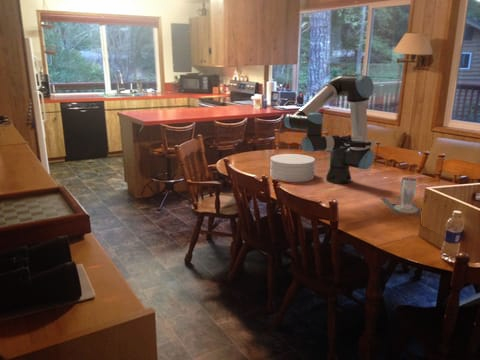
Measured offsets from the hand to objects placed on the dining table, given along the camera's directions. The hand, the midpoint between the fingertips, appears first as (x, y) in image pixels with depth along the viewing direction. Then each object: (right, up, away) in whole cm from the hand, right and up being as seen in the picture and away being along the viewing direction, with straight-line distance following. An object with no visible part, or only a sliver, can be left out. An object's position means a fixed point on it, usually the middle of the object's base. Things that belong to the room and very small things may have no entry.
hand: (368, 140), depth 218 cm
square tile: (+15, -32, -1) cm, 35 cm away
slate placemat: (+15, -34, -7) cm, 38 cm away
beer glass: (+14, -35, -13) cm, 40 cm away
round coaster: (+14, -35, -12) cm, 40 cm away
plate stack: (-34, -18, +50) cm, 63 cm away
